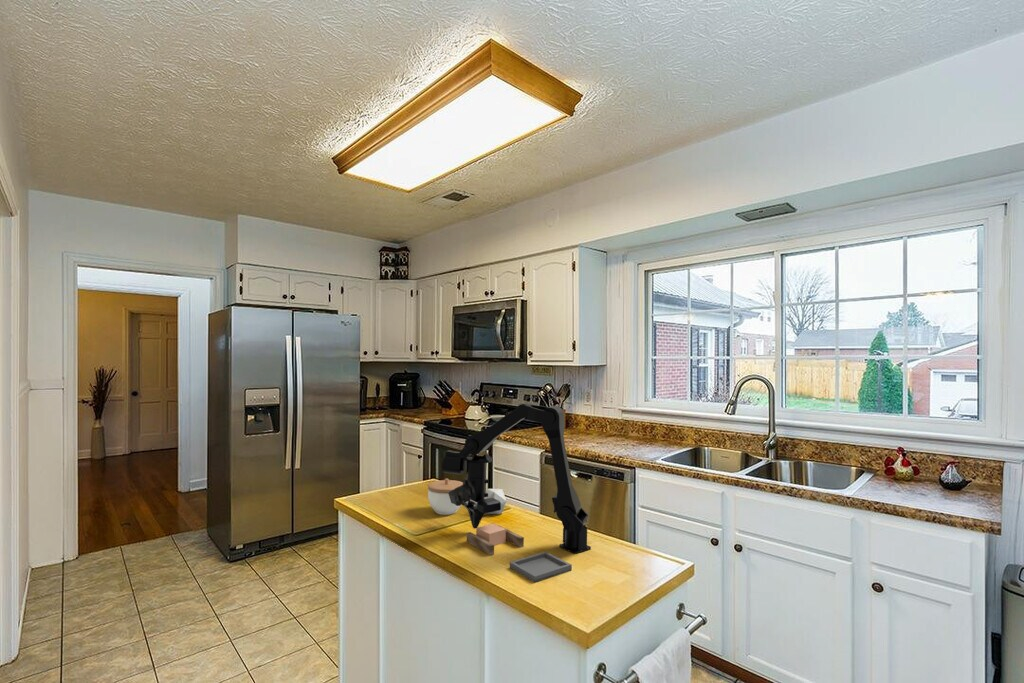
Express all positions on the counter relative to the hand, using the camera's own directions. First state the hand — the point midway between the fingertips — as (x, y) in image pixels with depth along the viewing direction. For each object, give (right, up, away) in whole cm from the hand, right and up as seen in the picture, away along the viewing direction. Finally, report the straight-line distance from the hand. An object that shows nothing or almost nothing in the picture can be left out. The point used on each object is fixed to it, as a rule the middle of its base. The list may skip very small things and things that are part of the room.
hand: (475, 528), depth 152 cm
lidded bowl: (-11, -2, +20) cm, 23 cm away
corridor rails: (+6, -1, -8) cm, 11 cm away
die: (+5, -2, +20) cm, 20 cm away
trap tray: (+18, -1, -24) cm, 30 cm away
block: (+5, -2, -7) cm, 9 cm away
